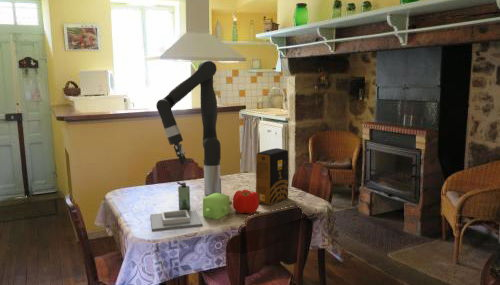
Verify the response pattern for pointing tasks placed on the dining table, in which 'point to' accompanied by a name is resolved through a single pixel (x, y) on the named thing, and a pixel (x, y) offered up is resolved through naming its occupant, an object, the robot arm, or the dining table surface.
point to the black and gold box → (272, 176)
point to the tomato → (245, 201)
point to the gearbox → (216, 205)
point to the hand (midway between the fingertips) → (184, 163)
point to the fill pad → (175, 220)
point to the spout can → (184, 196)
